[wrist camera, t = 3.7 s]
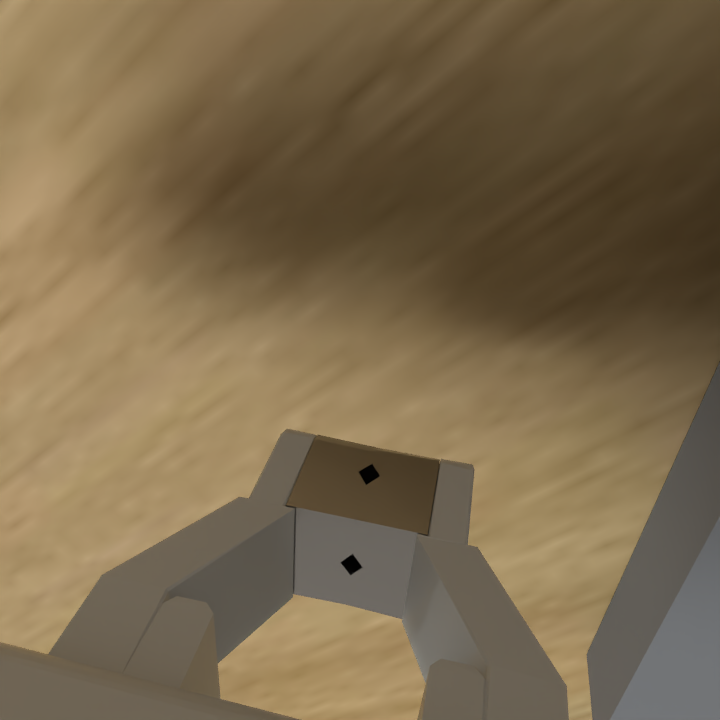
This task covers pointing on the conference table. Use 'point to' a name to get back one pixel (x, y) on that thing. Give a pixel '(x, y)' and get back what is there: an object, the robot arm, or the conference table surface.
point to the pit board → (669, 596)
